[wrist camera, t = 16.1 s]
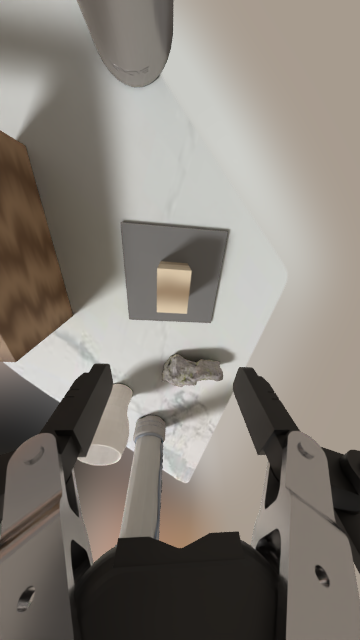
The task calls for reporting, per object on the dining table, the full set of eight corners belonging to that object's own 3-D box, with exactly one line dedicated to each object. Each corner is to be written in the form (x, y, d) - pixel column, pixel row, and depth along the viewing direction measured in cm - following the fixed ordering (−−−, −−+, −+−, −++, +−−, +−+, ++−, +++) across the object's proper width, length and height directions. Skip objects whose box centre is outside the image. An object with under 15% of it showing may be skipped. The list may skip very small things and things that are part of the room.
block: (160, 261, 29) (157, 268, 22) (187, 263, 29) (191, 270, 23) (159, 297, 32) (156, 312, 26) (184, 298, 32) (186, 313, 26)
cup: (120, 374, 42) (97, 437, 29) (145, 394, 47) (134, 457, 34) (92, 389, 45) (59, 454, 32) (118, 407, 49) (99, 470, 36)
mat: (121, 222, 26) (120, 222, 25) (226, 231, 27) (228, 231, 27) (130, 318, 34) (129, 319, 34) (210, 321, 36) (210, 322, 35)
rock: (220, 348, 40) (228, 367, 34) (219, 368, 43) (226, 389, 37) (159, 353, 40) (157, 373, 34) (163, 373, 43) (161, 395, 37)
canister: (170, 425, 55) (169, 597, 29) (146, 433, 57) (125, 602, 31) (155, 411, 51) (138, 598, 25) (130, 420, 53) (88, 604, 27)
